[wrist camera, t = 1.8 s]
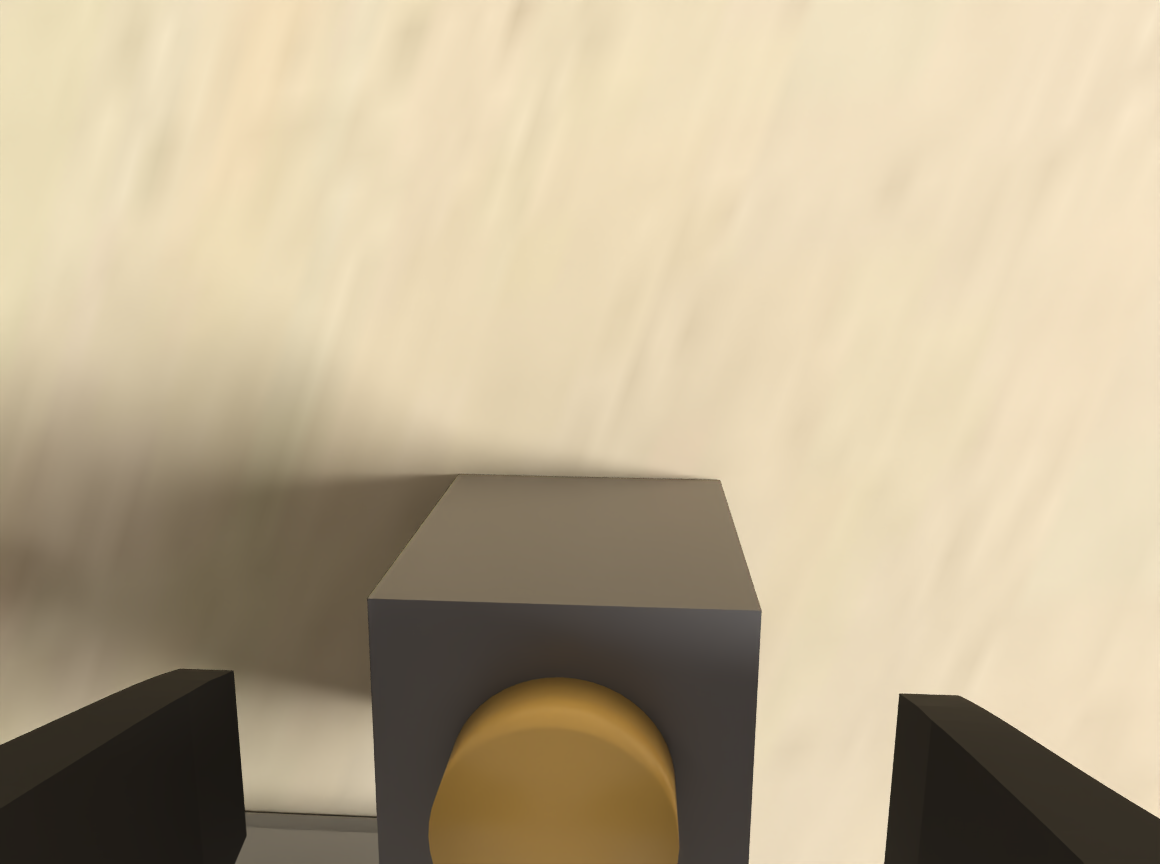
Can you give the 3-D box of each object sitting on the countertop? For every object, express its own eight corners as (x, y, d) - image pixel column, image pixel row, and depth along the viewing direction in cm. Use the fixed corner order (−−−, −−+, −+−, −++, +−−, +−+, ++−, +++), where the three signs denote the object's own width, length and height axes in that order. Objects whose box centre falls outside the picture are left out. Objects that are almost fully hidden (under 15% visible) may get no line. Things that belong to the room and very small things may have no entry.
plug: (720, 479, 14) (775, 655, 8) (710, 719, 15) (755, 1030, 9) (458, 474, 14) (336, 640, 9) (463, 710, 15) (355, 1007, 9)
